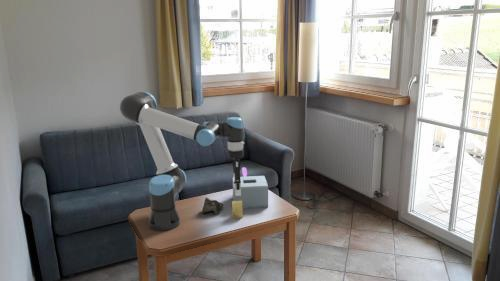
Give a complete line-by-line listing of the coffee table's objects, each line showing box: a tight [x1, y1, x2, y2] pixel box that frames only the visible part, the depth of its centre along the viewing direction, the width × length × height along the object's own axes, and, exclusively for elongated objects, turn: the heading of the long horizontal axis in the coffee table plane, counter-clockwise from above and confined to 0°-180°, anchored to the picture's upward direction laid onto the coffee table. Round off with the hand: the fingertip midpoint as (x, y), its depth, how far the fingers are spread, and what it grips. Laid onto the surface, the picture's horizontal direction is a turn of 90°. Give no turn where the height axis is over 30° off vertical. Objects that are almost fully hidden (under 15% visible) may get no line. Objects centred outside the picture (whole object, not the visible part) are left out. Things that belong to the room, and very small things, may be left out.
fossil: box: [201, 197, 224, 216], centre depth 213 cm, size 11×9×10 cm
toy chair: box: [241, 166, 248, 177], centre depth 237 cm, size 8×9×15 cm
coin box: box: [232, 175, 269, 209], centre depth 224 cm, size 18×16×12 cm
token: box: [231, 200, 243, 219], centre depth 207 cm, size 5×3×8 cm, turn 95°
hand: (237, 190), depth 204 cm, fingers open, 13 cm apart
